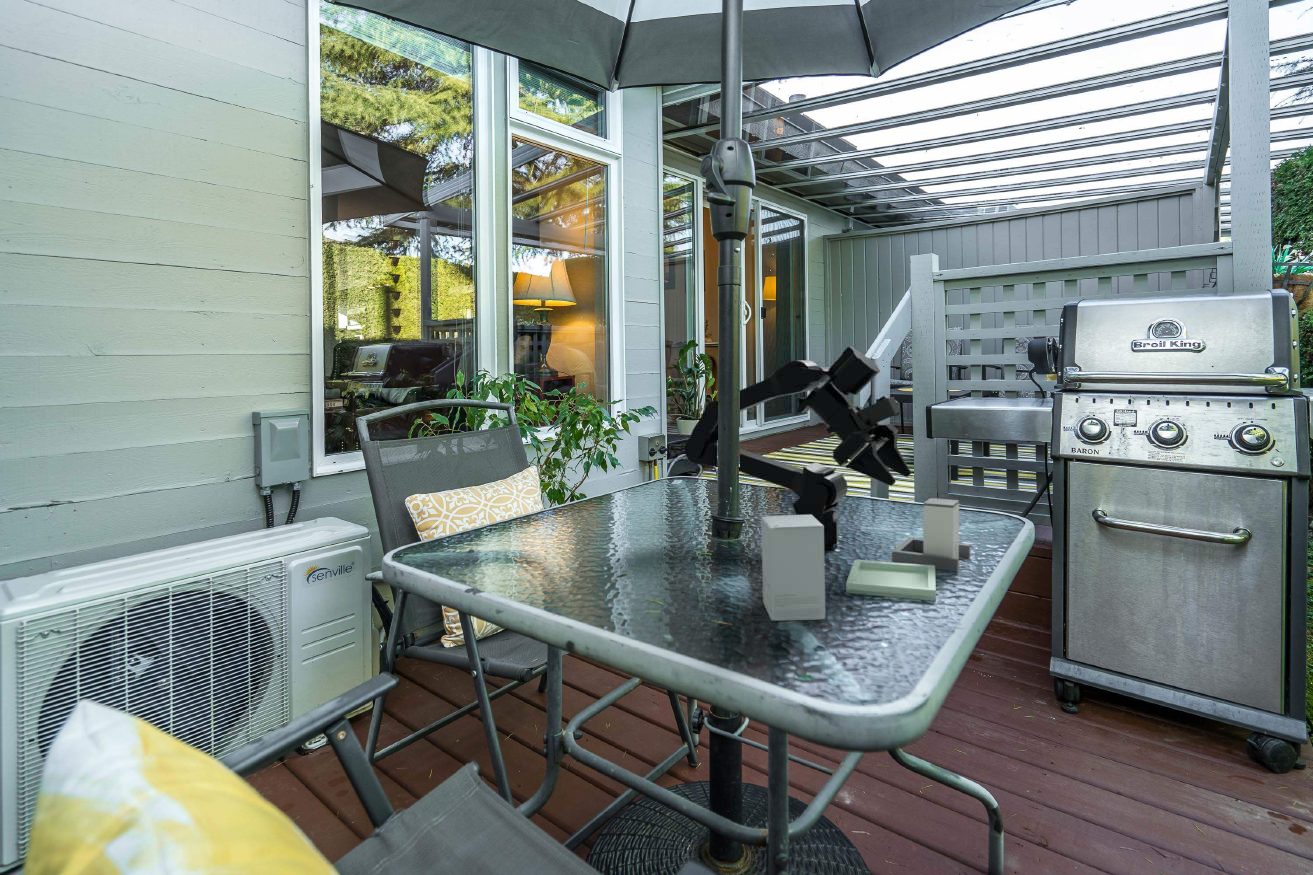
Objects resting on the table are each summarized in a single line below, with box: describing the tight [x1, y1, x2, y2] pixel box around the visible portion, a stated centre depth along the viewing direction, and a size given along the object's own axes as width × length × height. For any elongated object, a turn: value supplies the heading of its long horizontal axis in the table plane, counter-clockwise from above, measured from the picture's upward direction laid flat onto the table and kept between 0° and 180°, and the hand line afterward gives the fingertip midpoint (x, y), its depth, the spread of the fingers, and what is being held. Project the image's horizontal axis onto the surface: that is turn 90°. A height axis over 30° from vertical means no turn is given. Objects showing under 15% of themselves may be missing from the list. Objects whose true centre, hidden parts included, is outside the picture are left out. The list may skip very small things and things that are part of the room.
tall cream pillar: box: [922, 497, 960, 559], centre depth 109 cm, size 4×4×10 cm
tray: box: [845, 559, 937, 602], centre depth 99 cm, size 12×12×2 cm
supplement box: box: [760, 514, 826, 622], centre depth 89 cm, size 7×7×13 cm
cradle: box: [891, 537, 971, 573], centre depth 110 cm, size 10×10×2 cm
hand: (901, 479), depth 112 cm, fingers open, 9 cm apart
